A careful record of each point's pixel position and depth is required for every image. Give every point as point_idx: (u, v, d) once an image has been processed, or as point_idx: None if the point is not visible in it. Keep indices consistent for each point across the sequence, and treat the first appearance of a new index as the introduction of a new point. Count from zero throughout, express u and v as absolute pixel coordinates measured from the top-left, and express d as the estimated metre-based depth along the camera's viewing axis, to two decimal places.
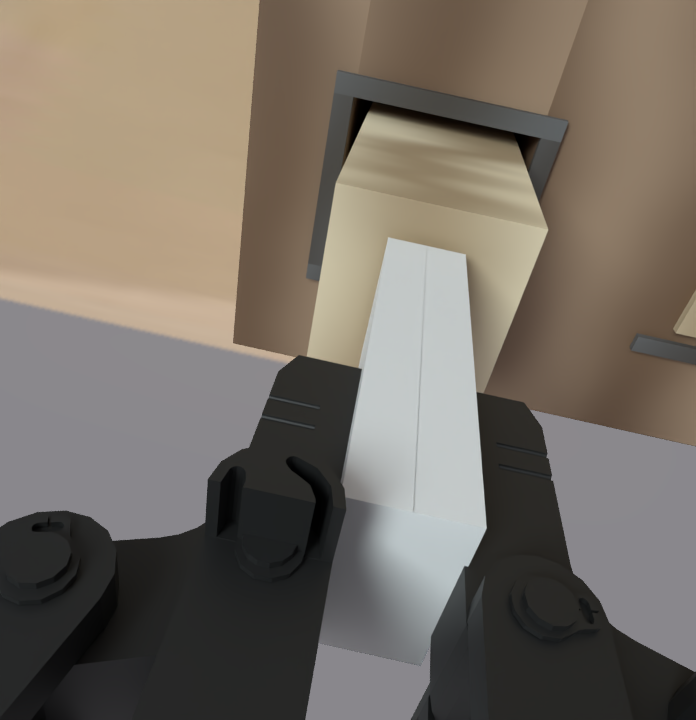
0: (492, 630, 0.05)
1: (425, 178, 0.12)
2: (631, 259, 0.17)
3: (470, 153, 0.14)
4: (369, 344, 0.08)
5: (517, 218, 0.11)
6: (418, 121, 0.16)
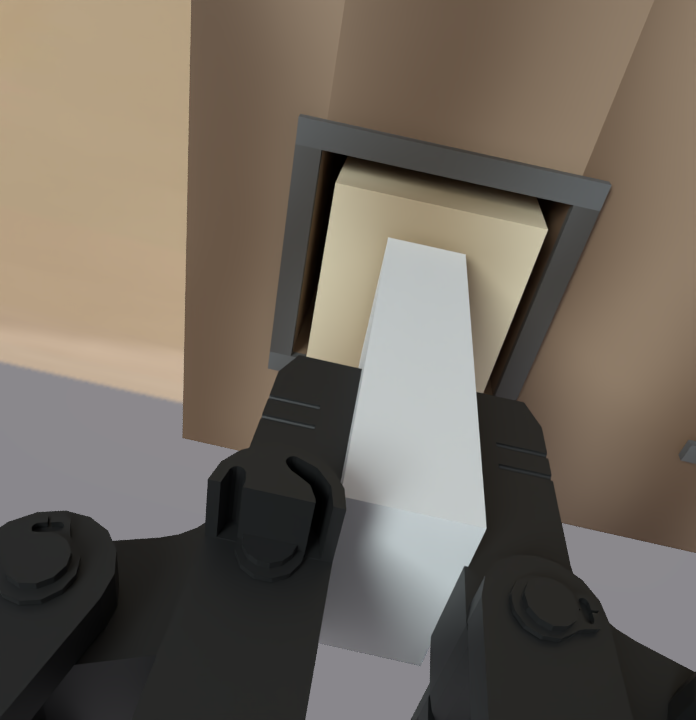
0: (492, 630, 0.05)
1: (425, 178, 0.12)
2: (686, 354, 0.13)
3: None
4: (369, 344, 0.08)
5: (516, 217, 0.11)
6: None
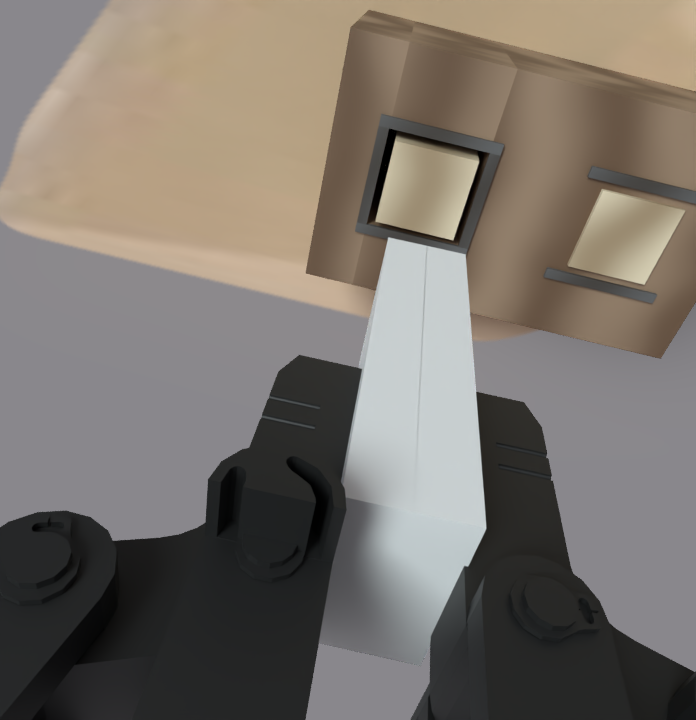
0: (492, 630, 0.05)
1: (429, 141, 0.29)
2: (541, 222, 0.30)
3: None
4: (369, 344, 0.08)
5: (467, 157, 0.28)
6: None
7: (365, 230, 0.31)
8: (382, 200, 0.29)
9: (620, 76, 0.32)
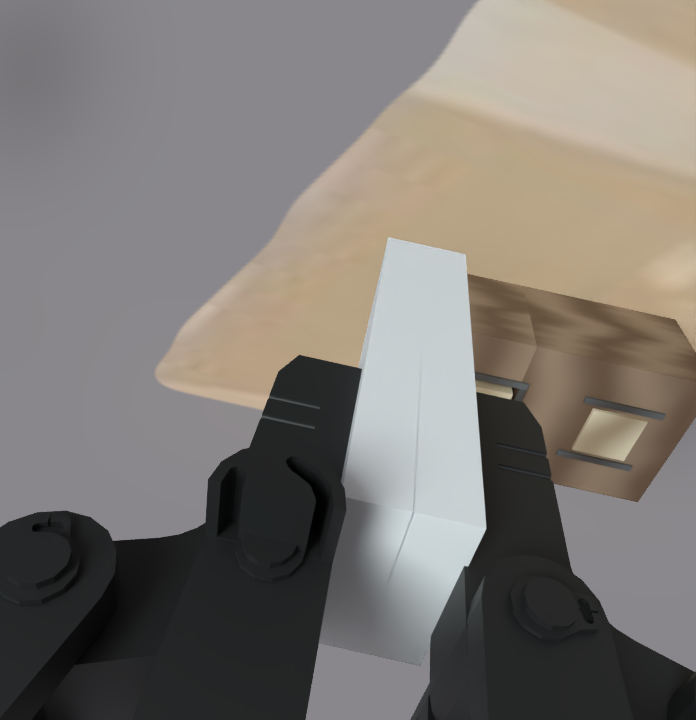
0: (492, 630, 0.05)
1: None
2: (553, 424, 0.45)
3: None
4: (369, 344, 0.08)
5: (505, 390, 0.44)
6: None
7: None
8: None
9: (606, 314, 0.47)
